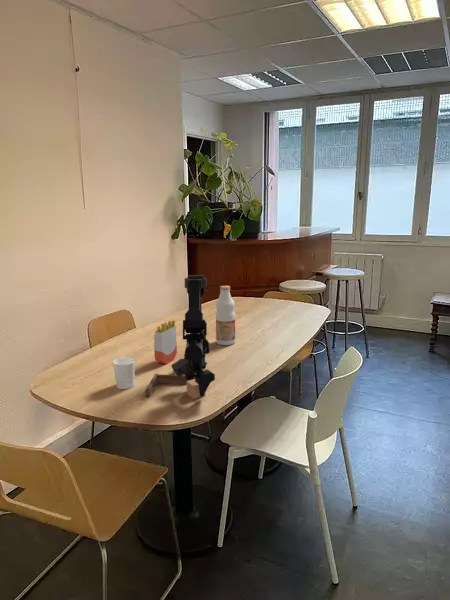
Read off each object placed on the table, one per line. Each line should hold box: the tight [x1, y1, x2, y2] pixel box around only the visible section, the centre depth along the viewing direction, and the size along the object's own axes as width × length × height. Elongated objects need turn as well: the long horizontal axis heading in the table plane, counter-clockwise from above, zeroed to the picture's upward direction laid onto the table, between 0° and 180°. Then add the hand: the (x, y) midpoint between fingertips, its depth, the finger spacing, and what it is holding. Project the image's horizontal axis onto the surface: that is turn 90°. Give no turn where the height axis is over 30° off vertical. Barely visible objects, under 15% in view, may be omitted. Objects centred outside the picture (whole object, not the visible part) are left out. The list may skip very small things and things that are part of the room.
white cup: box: [112, 356, 136, 390], centre depth 167 cm, size 8×8×10 cm
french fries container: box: [153, 319, 178, 365], centre depth 191 cm, size 5×11×18 cm, turn 153°
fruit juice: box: [215, 285, 236, 346], centre depth 213 cm, size 9×9×28 cm
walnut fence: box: [145, 373, 187, 398], centre depth 165 cm, size 14×13×3 cm
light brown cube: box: [186, 378, 206, 400], centre depth 160 cm, size 5×5×5 cm
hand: (196, 391), depth 160 cm, fingers open, 9 cm apart
